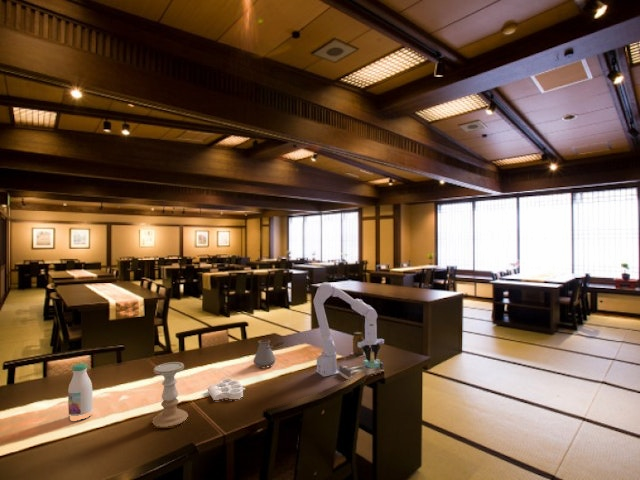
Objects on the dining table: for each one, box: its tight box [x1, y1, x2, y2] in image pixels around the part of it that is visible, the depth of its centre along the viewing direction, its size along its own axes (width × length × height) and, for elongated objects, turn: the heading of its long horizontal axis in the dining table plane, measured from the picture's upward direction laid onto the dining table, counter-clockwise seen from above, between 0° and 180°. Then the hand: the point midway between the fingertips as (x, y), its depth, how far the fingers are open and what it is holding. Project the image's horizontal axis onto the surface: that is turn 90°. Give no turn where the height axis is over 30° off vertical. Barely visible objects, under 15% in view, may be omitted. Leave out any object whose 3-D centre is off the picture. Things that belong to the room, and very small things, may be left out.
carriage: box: [362, 350, 380, 369], centre depth 180 cm, size 5×7×7 cm
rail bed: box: [338, 358, 385, 380], centre depth 177 cm, size 21×9×5 cm, turn 117°
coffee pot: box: [253, 339, 287, 368], centre depth 188 cm, size 21×12×15 cm, turn 49°
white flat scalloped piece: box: [206, 378, 246, 401], centre depth 158 cm, size 3×18×15 cm
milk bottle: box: [67, 362, 94, 416], centre depth 138 cm, size 8×8×20 cm
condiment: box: [349, 331, 366, 358], centre depth 206 cm, size 7×8×12 cm
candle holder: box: [151, 361, 189, 427], centre depth 134 cm, size 12×12×20 cm
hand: (371, 359), depth 180 cm, fingers closed on carriage, 3 cm apart
